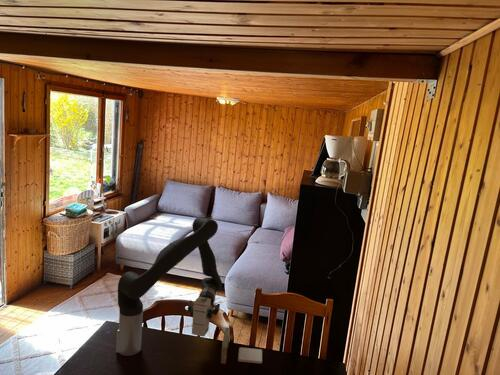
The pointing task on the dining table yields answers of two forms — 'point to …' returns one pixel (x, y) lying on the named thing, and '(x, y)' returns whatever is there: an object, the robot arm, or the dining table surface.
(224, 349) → the birch posts
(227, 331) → the wooden bar
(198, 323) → the syrup box
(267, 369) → the dining table surface
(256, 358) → the grey mat
